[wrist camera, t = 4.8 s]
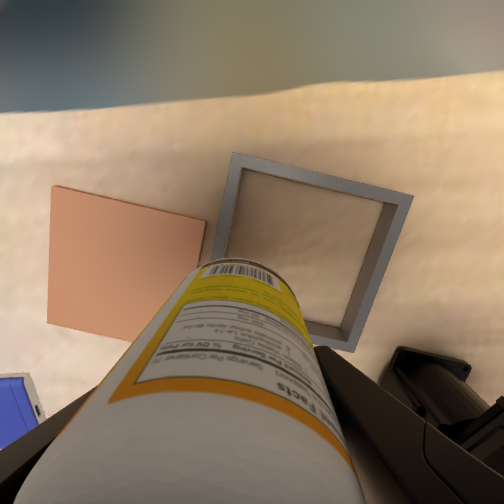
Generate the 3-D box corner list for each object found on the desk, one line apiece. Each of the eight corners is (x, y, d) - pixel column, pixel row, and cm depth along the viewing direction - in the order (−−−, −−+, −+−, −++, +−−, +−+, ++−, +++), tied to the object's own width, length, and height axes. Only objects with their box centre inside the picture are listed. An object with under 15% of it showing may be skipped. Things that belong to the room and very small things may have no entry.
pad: (206, 221, 20) (205, 221, 20) (182, 349, 23) (180, 353, 23) (56, 185, 20) (51, 185, 19) (51, 320, 23) (47, 323, 22)
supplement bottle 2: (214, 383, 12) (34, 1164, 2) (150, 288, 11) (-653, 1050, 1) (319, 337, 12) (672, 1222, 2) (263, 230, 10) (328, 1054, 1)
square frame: (398, 194, 19) (414, 195, 17) (345, 338, 22) (353, 353, 20) (235, 155, 19) (232, 151, 17) (204, 306, 22) (199, 318, 20)
